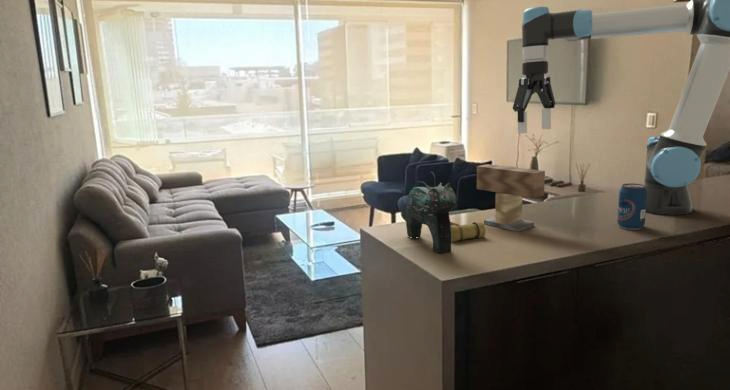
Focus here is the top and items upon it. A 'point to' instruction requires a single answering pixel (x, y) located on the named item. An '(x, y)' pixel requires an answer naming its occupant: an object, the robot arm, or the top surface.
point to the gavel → (467, 231)
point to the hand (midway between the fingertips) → (534, 131)
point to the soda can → (632, 206)
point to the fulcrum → (508, 213)
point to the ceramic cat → (431, 213)
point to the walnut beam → (511, 180)
